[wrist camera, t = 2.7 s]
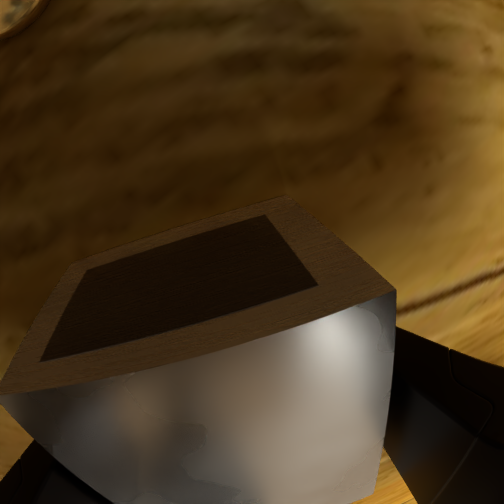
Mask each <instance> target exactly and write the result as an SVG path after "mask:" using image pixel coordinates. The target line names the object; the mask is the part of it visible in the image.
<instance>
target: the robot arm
mask: <svg viewBox="0 0 504 504" xmlns="http://www.w3.org/2000/svg"><path fill="white" fill-rule="evenodd" d="M383 447H384V448H385V450H386V452H387V453H388V455H389V457H390V458H391V460H392V462H393V463H394V465H395V467H396V468H397V470H398V471H399V473H400V475H401V476H402V478H403V480H404V481H405V483H406V485H407V486H408V488H409V490H410V491H411V493H412V495H413V496H414V498H415V500H416V501H417V503H418V504H504V367H501V366H498V365H495V364H491V363H488V362H485V361H482V360H479V359H477V358H474V357H471V356H468V355H466V354H463V353H461V352H458V351H456V350H453V349H450V350H449V348H448V347H446V346H443V345H441V344H438V343H436V342H433V341H431V340H428V339H426V338H423V337H421V336H419V335H416V334H414V333H411V332H409V331H406V330H404V329H402V328H399V327H397V326H396V328H395V347H394V361H393V373H392V383H391V393H390V401H389V409H388V416H387V423H386V430H385V436H384V442H383ZM0 504H114V503H113V502H111V501H110V500H108V499H107V498H105V497H104V496H103V495H101V494H100V493H98V492H97V491H96V490H94V489H93V488H91V487H90V486H89V485H87V484H86V483H85V482H84V481H82V480H81V479H80V478H78V477H77V476H76V475H75V474H73V473H72V472H71V471H70V470H68V469H67V468H66V467H65V466H64V465H62V464H61V463H60V462H59V461H58V460H57V459H55V458H54V457H53V456H52V455H51V454H50V453H49V452H48V451H46V450H45V449H44V448H43V447H42V446H41V445H40V444H39V443H38V442H37V441H36V440H35V439H34V440H33V441H32V443H31V444H30V445H29V446H28V448H27V449H26V450H25V451H24V453H23V454H22V455H21V457H20V459H18V460H17V461H16V463H15V464H14V465H13V467H12V468H11V469H10V470H9V472H8V473H7V474H6V475H5V476H4V478H3V479H2V480H1V481H0Z"/></svg>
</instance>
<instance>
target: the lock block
mask: <svg viewBox="0 0 504 504" xmlns="http://www.w3.org/2000/svg"><path fill="white" fill-rule="evenodd" d="M395 328H396V289H395V288H394V287H393V286H392V285H391V284H390V283H389V282H388V281H387V280H386V279H384V278H383V277H382V276H381V275H380V274H379V273H378V272H377V271H376V270H375V269H373V268H372V267H371V266H370V265H369V264H368V263H367V262H366V261H365V260H363V259H362V258H361V257H360V256H359V255H358V254H357V253H355V252H354V251H353V250H352V249H351V248H350V247H349V246H347V245H346V244H345V243H344V242H343V241H342V240H340V239H339V238H338V237H337V236H336V235H335V234H333V233H332V232H331V231H330V230H329V229H328V228H326V227H325V226H324V225H323V224H322V223H320V222H319V221H318V220H317V219H316V218H315V217H313V216H312V215H311V214H310V213H309V212H307V211H306V210H305V209H304V208H302V207H301V206H300V205H299V204H298V203H296V202H295V201H294V200H293V199H291V198H290V197H289V196H288V195H285V196H281V197H278V198H274V199H271V200H267V201H264V202H260V203H257V204H253V205H250V206H246V207H243V208H239V209H236V210H233V211H229V212H226V213H222V214H219V215H216V216H212V217H209V218H206V219H203V220H199V221H196V222H193V223H190V224H186V225H183V226H180V227H177V228H174V229H170V230H167V231H164V232H161V233H158V234H155V235H152V236H149V237H146V238H143V239H139V240H136V241H133V242H130V243H127V244H124V245H121V246H119V247H116V248H113V249H110V250H107V251H104V252H101V253H98V254H95V255H92V256H89V257H87V258H84V259H81V260H78V261H75V262H72V263H71V265H70V266H69V267H68V269H67V270H66V272H65V273H64V275H63V276H62V278H61V279H60V281H59V282H58V284H57V285H56V287H55V288H54V290H53V291H52V293H51V294H50V296H49V298H48V299H47V301H46V302H45V304H44V305H43V307H42V309H41V310H40V312H39V314H38V315H37V317H36V319H35V320H34V322H33V324H32V325H31V327H30V329H29V330H28V332H27V334H26V336H25V337H24V339H23V341H22V343H21V344H20V346H19V348H18V350H17V352H16V354H15V355H14V357H13V359H12V361H11V363H10V365H9V367H8V369H7V371H6V373H5V375H4V377H3V379H2V381H1V383H0V404H1V405H2V406H3V407H4V408H5V409H6V410H7V411H8V413H9V414H10V415H11V416H12V417H13V418H14V419H15V420H16V421H17V422H18V423H19V424H20V425H21V426H22V427H23V428H24V429H25V430H26V431H27V432H28V433H29V434H30V435H31V436H32V437H33V438H34V439H35V440H36V441H37V442H38V443H39V444H40V445H41V446H42V447H43V448H44V449H45V450H46V451H48V452H49V453H50V454H51V455H52V456H53V457H54V458H55V459H57V460H58V461H59V462H60V463H61V464H62V465H64V466H65V467H66V468H67V469H68V470H70V471H71V472H72V473H73V474H75V475H76V476H77V477H78V478H80V479H81V480H82V481H84V482H85V483H86V484H87V485H89V486H90V487H91V488H93V489H94V490H96V491H97V492H98V493H100V494H101V495H103V496H104V497H105V498H107V499H108V500H110V501H111V502H113V503H114V504H350V503H352V502H355V501H357V500H360V499H362V498H365V497H367V496H369V495H372V494H373V492H374V488H375V483H376V479H377V474H378V469H379V464H380V459H381V454H382V448H383V442H384V436H385V430H386V423H387V416H388V409H389V401H390V393H391V383H392V373H393V361H394V347H395Z"/></svg>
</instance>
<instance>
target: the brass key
mask: <svg viewBox="0 0 504 504" xmlns="http://www.w3.org/2000/svg"><path fill="white" fill-rule="evenodd" d="M50 1H51V0H0V40H5V39H9V38H11V37H14V36H16V35H18V34H19V33H21V32H22V31H24V30H25V29H27V28H28V27H29V26H30V25H31V24H32V23H34V22H35V21H36V20H37V19H38V17H39V16H40V15H41V14H42V13H43V11H44V10H45V9H46V7H47V6H48V4H49V2H50Z"/></svg>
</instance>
